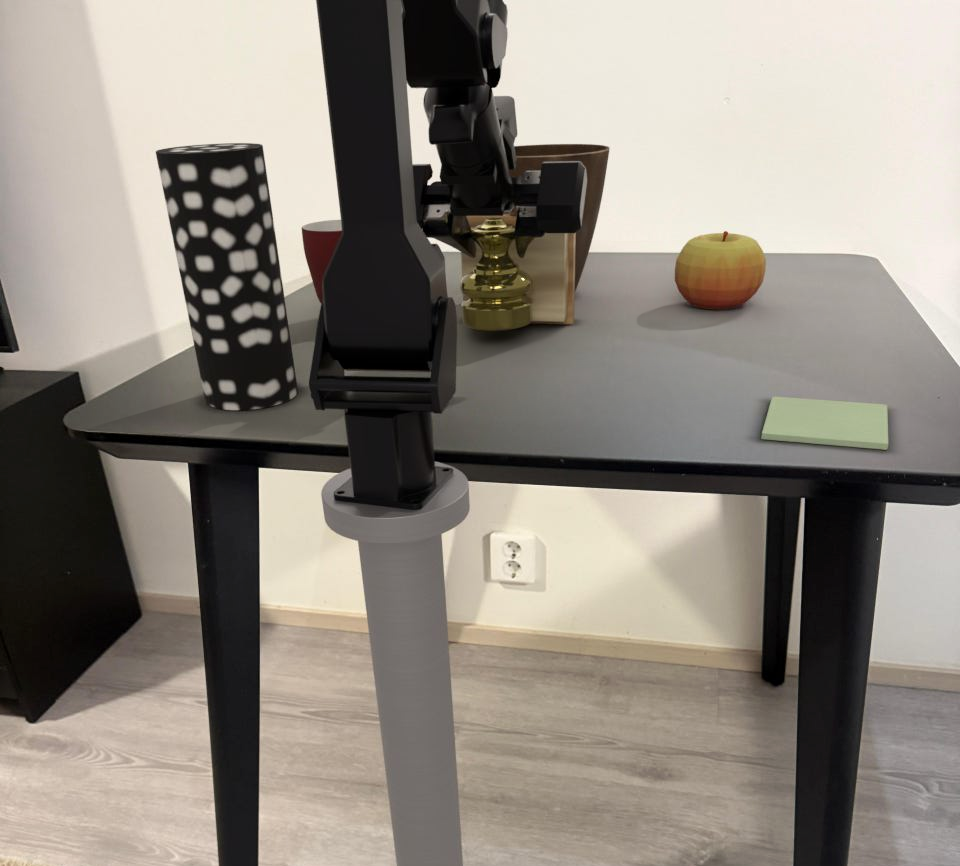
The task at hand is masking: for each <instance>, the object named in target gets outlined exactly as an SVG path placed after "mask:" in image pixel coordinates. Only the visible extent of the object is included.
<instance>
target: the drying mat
mask: <svg viewBox="0 0 960 866" xmlns="http://www.w3.org/2000/svg"><path fill="white" fill-rule="evenodd" d="M888 418H889V417H888V404H882V403H871V402H857V401H856V402H855V401H853V402H852V401H841V400H829V399H827V400H826V399H814V398H813V399H812V398H800V397H798V398H797V397H786V396H771V400H770V403H769V406H768V410H767V413H766V416H765V420H764V424H763V428H762V431H761V436H760V439H761V440H765V441H768V440H769V441H779V442H788V443H789V442H791V443H803V444H813V445H824V446H835V447H847V448H859V449H861V448H862V449H870V450H871V449H872V450H885V451H887V450H888V447H889V421H888V420H889V419H888Z"/></svg>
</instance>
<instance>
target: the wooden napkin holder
mask: <svg viewBox="0 0 960 866" xmlns="http://www.w3.org/2000/svg"><path fill="white" fill-rule="evenodd" d="M466 217H467V219H468V222H469V225H470V228H471V230H472V229H474V228H476V226H478V225H482V224H484V222H485V220H486V219H490V218H502V219H503V220H504V222H505V223H508V224H512V225H513V226H515V224H516V217H517V210H516V206H515V207H514V211H513V212H511V213H509V214H503V216H466ZM575 243H576V232H575V233H545V235H544V236H543V237H539V238H534V239H533V240H532V242H531V243H530V244H529V245H528V247H527V250H526V253H525V256H524V258H520V257H519V256H518V254H517V249H516V244H515V240H514V241H513V243H512V244H511V246H510V248H509V255H510V257H511V258H512V259H513V261H514V262H515V263H517V264H518V265H519V269H521V270H523V271H525V272H527V273H528V274H529V275H530V276H531V277H532V279H533V287H532V290H531V291H530V292H529V293H528V294H527V295H526V296H527V297H529V298H531V299H532V300H533V303H532V307H533V320H532V322H531V323H530V324H529V325H532V324H533V325H573V323H574V322H575V295H576V291H575ZM475 244H476V249H477V250H476V257H475V258H471V257H469V256H467V255H466V254H464V253H462V252H460V255H461V256H460V257H461V258H460V259H461V260H460V261H461V280H462V279H463V277H464V276H466V275H467V274H468V273H470V272H472V271H473V267H474V266H475V265H477V263H478V261H479V260H480V259H481V257H482V250H481V248H480V246H479V245H478V244H477V243H476V242H475ZM467 299H468V298H467V297H466V296H464V295H463V294H462V302H463V301H465V300H467Z"/></svg>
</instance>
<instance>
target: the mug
mask: <svg viewBox="0 0 960 866" xmlns="http://www.w3.org/2000/svg"><path fill="white" fill-rule="evenodd" d="M341 234H342V225H341V219H329V220H322V221H315V222H314V221H313V222H311V223H307V224H304V225H302V226H301V237H302V243H303V252H304V257H305V261H306V263H307V266H308V267H307V268H308V270H309V274H310V277H311V280H312V285H313V287H314V292H315V294H316V298H317V300H318V302H319V303H320V305H321V304H322V301H323V292H322V279H323V276H324V273H325V271H326V269H327V266H328V264H329V262H330V260H331V257H332V255H333V253H334V250H335V248H336V246H337V243H338V241H339V239H340V237H341Z"/></svg>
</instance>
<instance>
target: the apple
mask: <svg viewBox="0 0 960 866" xmlns="http://www.w3.org/2000/svg"><path fill="white" fill-rule="evenodd" d="M766 264H767V260H766V256H765V253H764V250H763V249H762V247H761V245H760V244H759V242H758V241H757V240H756V239H754V238H753V237H750V236H748V235H744V234H739V233H729V231H726V230H725V231H723V232H714V233H713V232H712V233H706V234H701V235H698V236H694V237H693V238H690V239H689V240H688V241H687V242H686V243H685V245H684V246H683V247H682V248H681V250H680V252H679V254H678V256H677V257H676V260H675V267H674V282H675V285H676V288H677V290H678V292H679V294H680V295H681V296H682V298H683V299H684V300H686V301H687V303H689V304H691V305H692V306H694V307H696V308H699V309H705V310H716V311H717V310H730V309H736V308H739V307H740V306H743V305H744V304H745V303H748V302H749V301H750V300H751V299H752V298H753V297H754V296H755V295H756V293H757V292H758V291H759V289H760V288H761V286H762V285H763V283H764V279H765V274H766V268H767V267H766Z"/></svg>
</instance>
